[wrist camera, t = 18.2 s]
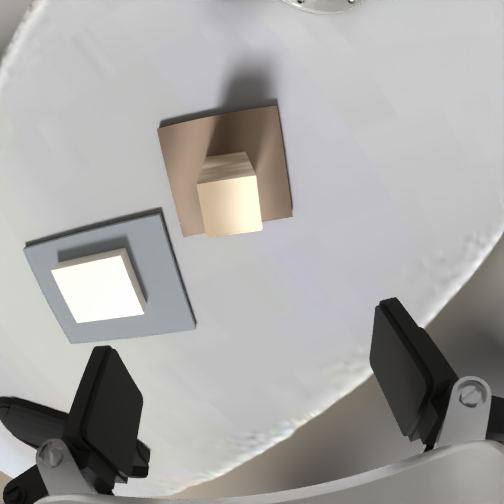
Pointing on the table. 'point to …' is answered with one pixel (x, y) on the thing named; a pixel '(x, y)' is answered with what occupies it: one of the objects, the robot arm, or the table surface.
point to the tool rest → (225, 142)
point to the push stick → (229, 195)
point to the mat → (145, 268)
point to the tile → (100, 286)
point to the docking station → (51, 428)
